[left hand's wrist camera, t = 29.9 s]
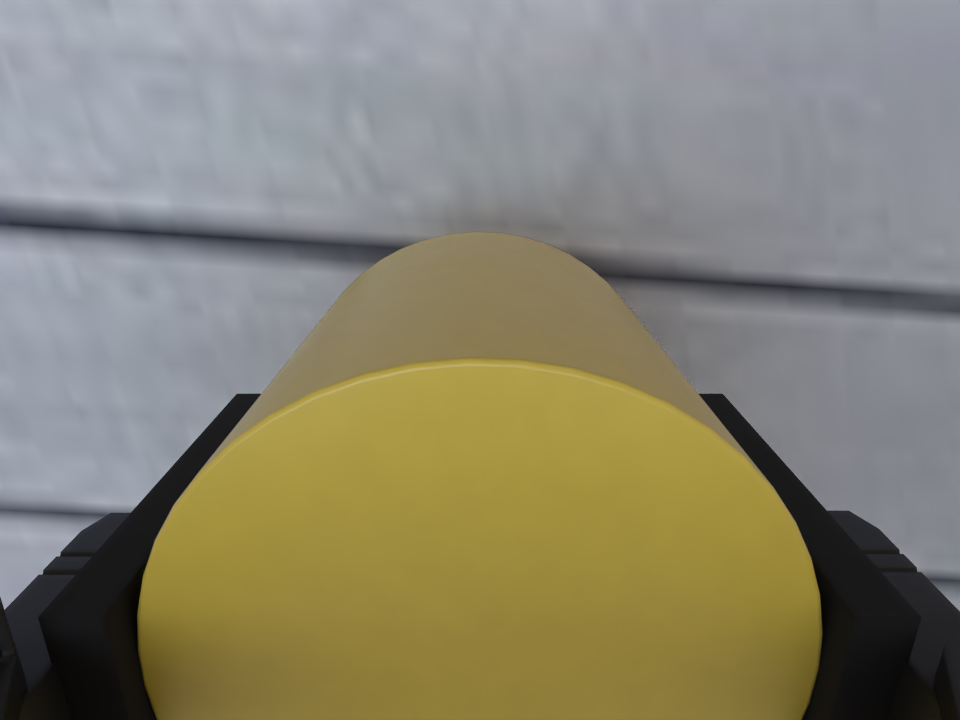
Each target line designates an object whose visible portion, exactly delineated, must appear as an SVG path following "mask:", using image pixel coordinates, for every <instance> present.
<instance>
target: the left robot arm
mask: <svg viewBox="0 0 960 720" xmlns="http://www.w3.org/2000/svg"><path fill="white" fill-rule="evenodd" d="M260 395H261V394H236V396H235V397H234V398H233V399H232V400H231V401H230V402H229V403H228V405H227V406H226V407H225V408H224V409H223V410H222V411H221V412H220V414H219V415H218V416H217V417H216V418H215V419H214V420H213V421H212V422H211V424H210V425H209V426H208V427H207V428H206V429H205V430H204V431H203V433H202V434H201V435H200V436H199V437H198V438H197V439H196V440H195V442H194V443H193V444H192V445H191V446H190V447H189V448H188V449H187V451H186V452H185V453H184V454H183V455H182V456H181V457H180V458H179V460H178V461H177V462H176V463H175V464H174V465H173V466H172V467H171V468H170V470H169V471H168V472H167V473H166V474H165V475H164V476H163V477H162V479H161V480H160V481H159V482H158V483H157V484H156V485H155V486H154V488H153V489H152V490H151V491H150V492H149V493H148V494H147V495H146V497H145V498H144V499H143V500H142V501H141V502H140V503H139V504H138V506H137V507H136V508H135V509H134V510H133V511H132V512H131V513H110V514H109V515H107V516H105V517H104V518H102V519H100V520H99V521H97V522H96V523H94V524H92V525H91V526H89V527H87V528H86V529H84V530H82V531H81V532H80V533H79V534H78V535H77V536H76V537H75V538H74V539H73V540H72V541H71V542H70V543H69V544H68V545H67V546H66V547H65V548H64V549H63V551H62V552H61V555H60V557H56V558H55V559H54V560H53V561H52V562H51V563H50V564H49V565H48V566H47V567H46V568H45V569H44V570H43V575H38V576H37V577H36V578H35V579H34V580H33V581H32V582H31V583H30V584H29V585H28V587H27V588H26V589H25V590H24V591H23V592H22V593H21V594H20V595H19V596H18V597H17V598H16V599H15V600H14V601H13V602H12V603H11V604H10V605H9V606H8V607H7V608H6V609H5V610H4V608H3V604H2V601H1V598H0V720H157V719H156V716H155V714H154V711H153V708H152V705H151V702H150V700H149V697H148V694H147V691H146V689H145V686H144V681H143V675H142V670H141V665H140V659H139V654H138V629H137V613H138V606H139V599H140V593H141V586H142V580H143V575H144V572H145V569H146V566H147V563H148V560H149V557H150V554H151V551H152V548H153V545H154V542H155V539H156V537H157V535H158V533H159V532H160V530H161V528H162V526H163V524H164V522H165V520H166V518H167V517H168V515H169V513H170V511H171V509H172V507H173V505H174V504H175V502H176V501H177V500H178V499H179V497H180V496H181V495H182V493H183V492H184V491H185V489H186V488H187V487H188V485H189V484H190V483H191V482H192V480H193V479H194V478H195V476H196V475H197V474H198V472H199V471H200V470H201V469H202V467H203V466H204V465H205V464H206V462H207V461H208V460H209V459H210V457H211V456H212V455H213V454H214V452H215V451H216V450H217V449H218V447H219V446H220V445H221V444H222V442H223V441H224V440H225V439H226V437H227V436H228V435H229V434H230V432H231V431H232V430H233V429H234V428H235V426H236V425H237V424H238V423H239V421H240V420H241V419H242V418H243V416H244V415H245V414H246V413H247V411H248V410H249V409H250V408H251V406H252V405H253V404H254V403H255V401H256V400H257V399H258V398H259V396H260ZM699 395H700V397H701V398H702V399H703V400H704V402H705V403H706V404H707V405H708V407H709V408H710V409H711V410H712V412H713V413H714V414H715V415H716V417H717V418H718V419H719V420H720V422H721V423H722V424H723V425H724V426H725V428H726V429H727V430H728V431H729V433H730V434H731V435H732V436H733V438H734V439H735V440H736V441H737V443H738V444H739V445H740V446H741V448H742V449H743V450H744V451H745V453H746V454H747V455H748V456H749V458H750V459H751V460H752V461H753V463H754V464H755V465H756V466H757V468H758V469H759V470H760V471H761V473H762V474H763V475H764V476H765V477H766V479H767V480H768V481H769V482H770V484H771V485H772V486H773V487H774V489H775V490H776V492H777V494H778V495H779V497H780V498H781V500H782V501H783V503H784V504H785V506H786V508H787V509H788V511H789V512H790V514H791V515H792V517H793V518H794V520H795V522H796V524H797V526H798V528H799V531H800V533H801V535H802V538H803V540H804V542H805V545H806V547H807V549H808V552H809V554H810V556H811V559H812V563H813V567H814V572H815V576H816V580H817V584H818V588H819V592H820V601H821V617H822V633H823V634H822V644H821V653H820V662H819V670H818V674H817V677H816V681H815V685H814V688H813V692H812V695H811V699H810V703H809V705H808V707H807V709H806V711H805V714H804V716H803V718H802V720H960V611H959V610H958V609H957V608H956V607H955V606H954V605H953V604H952V603H951V602H950V601H949V600H948V599H947V598H946V597H945V596H944V595H943V594H942V593H941V592H940V591H939V590H938V589H937V588H936V587H935V586H934V585H933V584H932V583H931V582H930V581H929V580H928V579H927V578H926V577H925V576H924V575H923V574H922V573H921V572H917V568H916V567H915V565H914V564H913V563H912V562H911V561H910V560H909V559H908V558H907V557H906V556H905V555H904V554H900V553H899V549H898V548H897V547H896V546H895V545H894V544H893V543H892V542H891V541H890V540H889V539H888V538H887V537H886V536H885V535H884V534H883V533H882V532H881V531H880V530H879V529H878V528H876V527H875V526H873V525H871V524H870V523H868V522H866V521H865V520H863V519H861V518H860V517H858V516H856V515H855V514H853V513H852V512H850V511H826V509H825V508H824V507H823V506H822V505H821V504H820V503H819V502H818V500H817V499H816V498H815V497H814V496H813V495H812V494H811V493H810V491H809V490H808V489H807V488H806V487H805V486H804V485H803V484H802V482H801V481H800V480H799V479H798V478H797V477H796V476H795V475H794V473H793V472H792V471H791V470H790V469H789V468H788V467H787V466H786V465H785V463H784V462H783V461H782V460H781V459H780V458H779V457H778V456H777V454H776V453H775V452H774V451H773V450H772V449H771V448H770V447H769V445H768V444H767V443H766V442H765V441H764V440H763V439H762V438H761V436H760V435H759V434H758V433H757V432H756V431H755V430H754V429H753V427H752V426H751V425H750V424H749V423H748V422H747V421H746V420H745V418H744V417H743V416H742V415H741V414H740V413H739V412H738V411H737V410H736V408H735V407H734V406H733V405H732V404H731V403H730V402H729V401H728V399H727V398H726V397H725V396H724V395H723V394H699Z"/></svg>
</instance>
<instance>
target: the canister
mask: <svg viewBox="0 0 960 720" xmlns="http://www.w3.org/2000/svg"><path fill="white" fill-rule="evenodd" d="M137 629H138V654H139V659H140V665H141V670H142V675H143V681H144V686H145V689H146V691H147V694H148V697H149V700H150V702H151V705H152V708H153V711H154V714H155V716H156V719H157V720H802V718H803V716H804V714H805V711H806V709H807V707H808V705H809V703H810V699H811V695H812V692H813V688H814V685H815V681H816V677H817V674H818V670H819V662H820V653H821V644H822V634H823V633H822V617H821V601H820V592H819V588H818V584H817V580H816V576H815V572H814V567H813V563H812V559H811V556H810V554H809V552H808V549H807V547H806V545H805V542H804V540H803V538H802V535H801V533H800V531H799V528H798V526H797V524H796V522H795V520H794V518H793V517H792V515H791V514H790V512H789V511H788V509H787V508H786V506H785V504H784V503H783V501H782V500H781V498H780V497H779V495H778V494H777V492H776V490H775V489H774V487H773V486H772V485H771V484H770V482H769V481H768V480H767V479H766V477H765V476H764V475H763V474H762V473H761V471H760V470H759V469H758V468H757V466H756V465H755V464H754V463H753V461H752V460H751V459H750V458H749V456H748V455H747V454H746V453H745V451H744V450H743V449H742V448H741V446H740V445H739V444H738V443H737V441H736V440H735V439H734V438H733V436H732V435H731V434H730V433H729V431H728V430H727V429H726V428H725V426H724V425H723V424H722V423H721V422H720V420H719V419H718V418H717V417H716V415H715V414H714V413H713V412H712V410H711V409H710V408H709V407H708V405H707V404H706V403H705V402H704V400H703V399H702V398H701V397H700V395H699V394H698V393H697V392H696V390H695V389H694V388H693V387H692V385H691V384H690V383H689V382H688V380H687V379H686V378H685V377H684V376H683V374H682V373H681V372H680V371H679V369H678V368H677V367H676V366H675V364H674V363H673V362H672V361H671V359H670V358H669V357H668V356H667V354H666V353H665V352H664V351H663V349H662V348H661V347H660V346H659V344H658V343H657V342H656V341H655V339H654V338H653V337H652V336H651V334H650V333H649V332H648V331H647V330H646V328H645V327H644V326H643V325H642V323H641V322H640V321H639V320H638V318H637V317H636V316H635V315H634V313H633V312H632V311H631V310H630V308H629V307H628V306H627V305H626V303H625V302H624V301H623V300H622V299H621V297H620V296H619V295H618V294H617V293H616V292H615V291H614V290H613V288H612V287H611V286H610V285H609V284H608V283H607V282H606V281H605V280H604V279H603V278H601V277H600V276H599V275H598V274H597V273H596V272H594V271H593V270H592V269H591V268H590V267H588V266H587V265H585V264H584V263H582V262H580V261H579V260H577V259H576V258H574V257H573V256H571V255H569V254H567V253H565V252H563V251H561V250H559V249H557V248H554V247H552V246H550V245H548V244H545V243H542V242H539V241H535V240H532V239H529V238H526V237H522V236H516V235H510V234H504V233H495V232H466V233H456V234H448V235H443V236H439V237H435V238H431V239H426V240H423V241H420V242H418V243H415V244H412V245H410V246H407V247H405V248H402V249H400V250H398V251H396V252H394V253H393V254H391V255H389V256H387V257H385V258H383V259H382V260H380V261H379V262H377V263H376V264H374V265H373V266H372V267H370V268H369V269H368V270H366V271H365V272H364V273H362V274H361V275H360V276H359V277H358V278H357V279H356V280H355V281H354V282H353V283H352V284H351V285H350V286H349V287H348V288H347V289H346V290H345V291H344V292H343V293H342V294H341V296H340V297H339V298H338V299H337V301H336V302H335V303H334V304H333V306H332V307H331V308H330V309H329V310H328V312H327V313H326V314H325V315H324V317H323V318H322V319H321V320H320V322H319V323H318V324H317V325H316V327H315V328H314V329H313V330H312V332H311V333H310V334H309V335H308V337H307V338H306V339H305V340H304V342H303V343H302V344H301V345H300V347H299V348H298V349H297V350H296V352H295V353H294V354H293V355H292V357H291V358H290V359H289V360H288V362H287V363H286V364H285V365H284V367H283V368H282V369H281V370H280V371H279V373H278V374H277V375H276V376H275V378H274V379H273V380H272V381H271V383H270V384H269V385H268V386H267V388H266V389H265V390H264V391H263V393H262V394H261V395H260V396H259V398H258V399H257V400H256V401H255V403H254V404H253V405H252V406H251V408H250V409H249V410H248V411H247V413H246V414H245V415H244V416H243V418H242V419H241V420H240V421H239V423H238V424H237V425H236V426H235V428H234V429H233V430H232V431H231V432H230V434H229V435H228V436H227V437H226V439H225V440H224V441H223V442H222V444H221V445H220V446H219V447H218V449H217V450H216V451H215V452H214V454H213V455H212V456H211V457H210V459H209V460H208V461H207V462H206V464H205V465H204V466H203V467H202V469H201V470H200V471H199V472H198V474H197V475H196V476H195V478H194V479H193V480H192V482H191V483H190V484H189V485H188V487H187V488H186V489H185V491H184V492H183V493H182V495H181V496H180V497H179V499H178V500H177V501H176V502H175V504H174V505H173V507H172V509H171V511H170V513H169V515H168V517H167V518H166V520H165V522H164V524H163V526H162V528H161V530H160V532H159V533H158V535H157V537H156V539H155V542H154V545H153V548H152V551H151V554H150V557H149V560H148V563H147V566H146V569H145V572H144V575H143V580H142V586H141V593H140V599H139V606H138V613H137Z"/></svg>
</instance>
